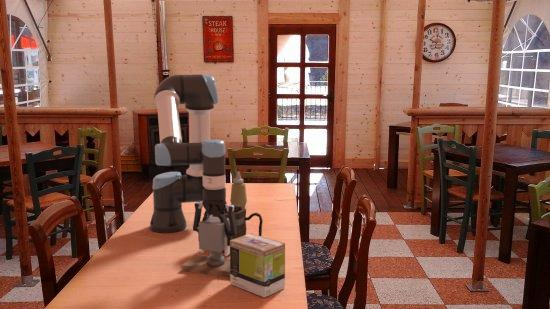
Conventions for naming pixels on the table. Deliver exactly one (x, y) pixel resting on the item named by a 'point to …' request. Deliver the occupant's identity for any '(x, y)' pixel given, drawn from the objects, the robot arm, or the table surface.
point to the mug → (242, 221)
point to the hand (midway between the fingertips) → (215, 252)
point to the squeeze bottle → (238, 192)
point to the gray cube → (212, 234)
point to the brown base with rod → (208, 264)
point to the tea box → (257, 264)
